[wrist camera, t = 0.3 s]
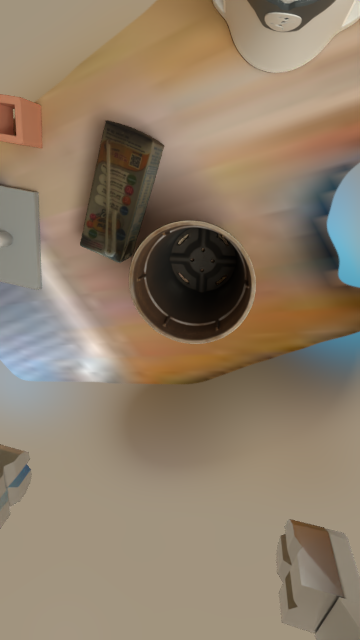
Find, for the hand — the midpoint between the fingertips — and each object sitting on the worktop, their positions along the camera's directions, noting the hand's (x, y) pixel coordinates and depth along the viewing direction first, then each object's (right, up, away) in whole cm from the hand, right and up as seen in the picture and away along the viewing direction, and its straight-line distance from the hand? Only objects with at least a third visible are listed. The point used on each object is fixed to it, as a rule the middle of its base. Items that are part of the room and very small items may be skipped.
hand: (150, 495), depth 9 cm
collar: (-24, +37, +41) cm, 60 cm away
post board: (-31, +21, +49) cm, 62 cm away
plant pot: (+5, +16, +44) cm, 47 cm away
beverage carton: (-8, +26, +43) cm, 51 cm away
